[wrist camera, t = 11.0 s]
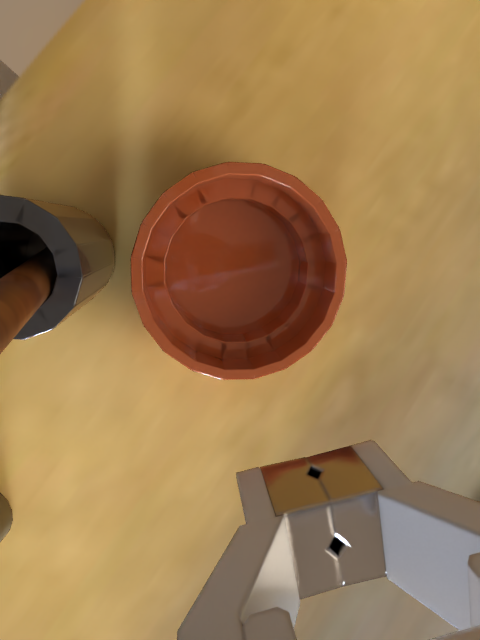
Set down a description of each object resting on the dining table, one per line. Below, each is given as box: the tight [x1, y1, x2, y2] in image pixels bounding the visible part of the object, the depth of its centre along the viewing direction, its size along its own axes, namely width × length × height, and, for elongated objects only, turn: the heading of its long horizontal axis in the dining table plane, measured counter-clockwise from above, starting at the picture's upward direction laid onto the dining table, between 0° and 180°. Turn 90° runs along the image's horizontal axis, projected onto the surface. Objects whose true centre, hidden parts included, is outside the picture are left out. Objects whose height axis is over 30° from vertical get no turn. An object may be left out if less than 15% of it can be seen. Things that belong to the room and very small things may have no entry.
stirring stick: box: [0, 247, 57, 354], centre depth 18 cm, size 2×2×22 cm
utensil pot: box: [0, 195, 115, 340], centre depth 25 cm, size 7×7×10 cm
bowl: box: [131, 162, 347, 380], centre depth 29 cm, size 13×13×6 cm
